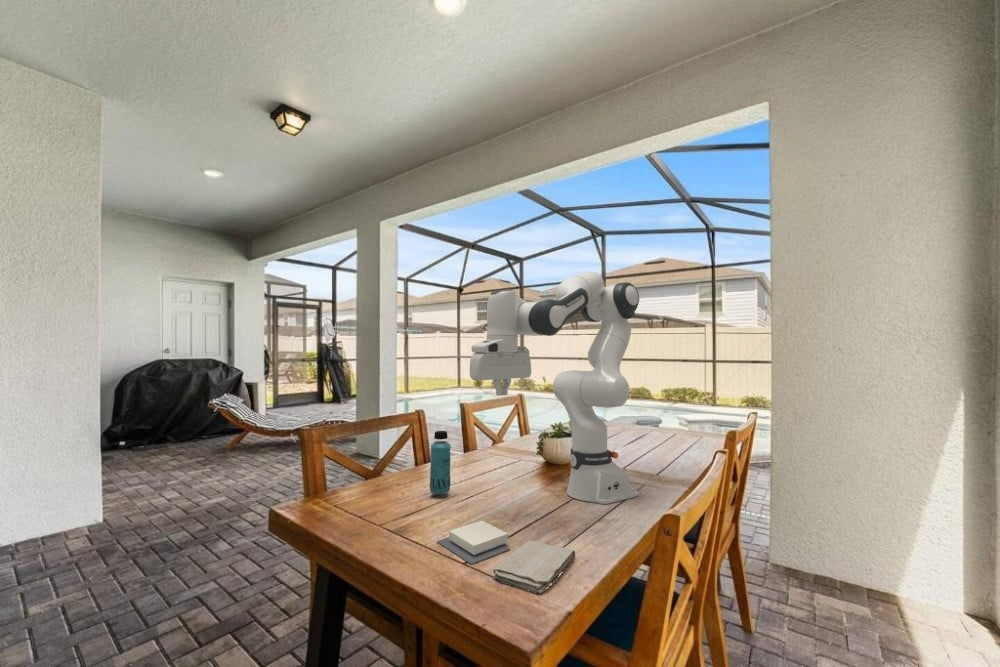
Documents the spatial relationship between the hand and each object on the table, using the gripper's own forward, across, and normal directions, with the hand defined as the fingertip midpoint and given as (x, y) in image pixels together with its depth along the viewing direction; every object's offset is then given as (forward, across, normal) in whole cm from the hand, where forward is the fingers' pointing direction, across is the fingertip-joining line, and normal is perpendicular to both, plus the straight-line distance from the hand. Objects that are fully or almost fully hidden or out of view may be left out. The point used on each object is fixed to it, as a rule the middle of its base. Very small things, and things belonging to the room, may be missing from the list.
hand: (501, 395), depth 125 cm
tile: (+32, +11, +11) cm, 35 cm away
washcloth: (+34, +14, +28) cm, 46 cm away
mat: (+33, +18, +11) cm, 39 cm away
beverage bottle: (+33, +5, -23) cm, 41 cm away
